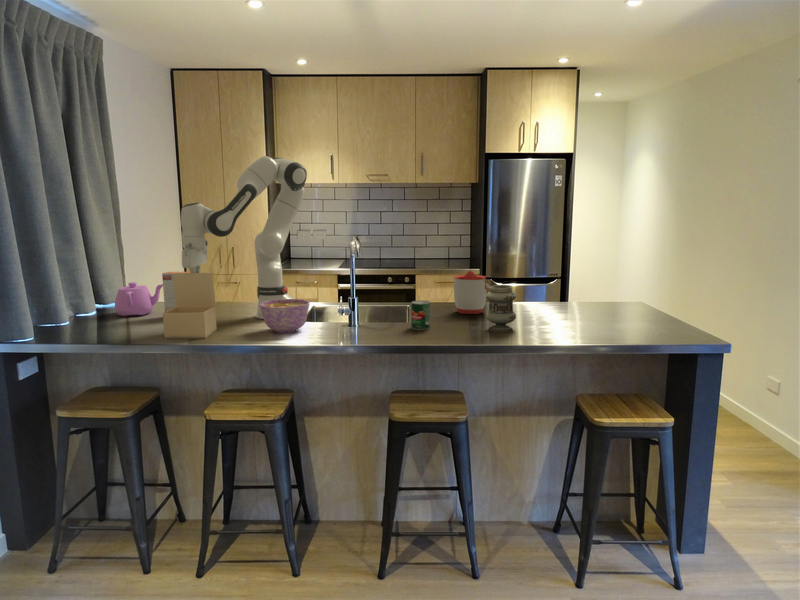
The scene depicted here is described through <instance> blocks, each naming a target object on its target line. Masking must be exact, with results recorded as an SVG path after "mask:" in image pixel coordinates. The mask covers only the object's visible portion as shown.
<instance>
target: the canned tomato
mask: <svg viewBox="0 0 800 600" xmlns="http://www.w3.org/2000/svg"><path fill="white" fill-rule="evenodd" d="M410 307H411V322H410V323H411V329H412V330H415V331H427V330H430V329H431V301H429V300H422V299H421V300H413V301H411V306H410Z"/></svg>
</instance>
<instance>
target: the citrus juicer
mask: <svg viewBox="0 0 800 600" xmlns="http://www.w3.org/2000/svg"><path fill="white" fill-rule="evenodd" d="M453 279H454V280H453V282H454V283H453V289H454V290H453V298H454V299H453V300H454V304H455V309H456V312H458V313H460V314H462V315H464V314H465V315H467V314H468V315H479V314H481V313H483V311H484V309H485V306H486V302H487V301H486V300H487V297H486V295H487V289H491V286H490V283H489V284H488V283H487V276H486V275H480V274H479V275H478V274H475V273H474V272H473V270H469V271H468V272H467V273H466V274H460V275H455V276H453Z"/></svg>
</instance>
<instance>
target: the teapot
mask: <svg viewBox="0 0 800 600" xmlns="http://www.w3.org/2000/svg"><path fill="white" fill-rule="evenodd" d="M137 284H138V282H128V285H126V286H120V287H119V289H118V291H117V293H116V295H115V296H116V297H115V300H114V310H115V312H116V314H117V315H118V316H122V317H129V316H139V315H142V316H145V315H146V314H147V315H148V314H149V313H151V312H152V311H153V309H154V306H155V305H156V304H157V303H158V302H159V300H160V293H161V288H163V283H162V284H158V285H157V286H156V287H155V293H154V295H153V296H152V294H151V291H150V290H149V288H148V286H147V285H137Z"/></svg>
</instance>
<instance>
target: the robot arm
mask: <svg viewBox="0 0 800 600" xmlns="http://www.w3.org/2000/svg"><path fill="white" fill-rule="evenodd" d="M307 174H308V172H307V169H306V167H304V165H303V164H301V163H300V162H298V161H294V160H290V159H288V158H287V159H285V158H282V157H274V158H272V157H270V156H267V155H263V156H261V157H259V158H258V159H256V160H255V161H254V162H252V163H251V164H250V165H249V166H248V167H247V168H246V169H245V170H244V172H242V173H241V175H239V176H240V177H239V178H238V179H237V182H236V186H237V192H236V194H235V195H234V197H233V198H232V199H231V200H230V201H229V202H228V203H227V205H226V206H225V207H223V208H222V209H220V210H218V211H217V210H214V209H211V208H210V207H207V206H205V205H204V204H202V203H201V202H191V203H187V204H185V205H183V206H182V208H181V213H180V224H181V228H182V231H181V232H182V233H181V242H182V243H181V245H182V246H181V247H182V248H183V249H182V251H181V266H182V268H183V269H189V272H190V273H201V268H202V267H201V266H202V265H205V264H207V262H208V261H207V260H208V248H207V247H208V246H209V241H208V240H207V239H206V234H211V235H215V236H216V237H219V238H220V237H222V238H223V237H227V236H229V235H230V234H231V233H232V232H233V230H234V228H235V225H236V222H237V220H238V218H239V217H240V216H241V214H242V213H244V211H245V210H246V209H247V208H248V206H250V204H251V202H253V201H254V200H255V199H257V197H259V196H260V195H261V194H262V193H263V192H265V190H266V189H267V188H268V186H269V185H271V183H272V182H275V183H278V184H280V191H279V193H278V195H277V197H276V199H275V201H274V203H273V204H272V207H271V209H270V211H269V213H268V215H267V219H266V222H265V225H264V227H263V230H262V231H260V232H259V233H257V235H256V236H255V238H254V252H255V253H254V254H255V262H256V269H257V270H256V271H257V286H256V288H257V289H256V292H257V293H256V294H257V300H258V302H257V311H256V315H255V317H256V318H257V319H262V320H264V318H263V315H262V311H261V308H260V303H262V302H266V301H271V300H279V299H295V298H294V297H293V296H291V295H290V294H289V293H288V292H289V291H288V290H289V289H288V286H285V285H283V284H284V280H283V266H282V259H281V253H282V251H283V249H284V247H285V244H286V241H287V239H288V236H289V233H290V231H291V227H292V225H293V223H294V221H295V219H296V217H297V215H298V212H299V211H300V209H301V206H302V203H303V201H304V197H305V193H306V190H305V188H304V187H305V183H306V182H307V179H308V178H307V177H308V175H307Z"/></svg>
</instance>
